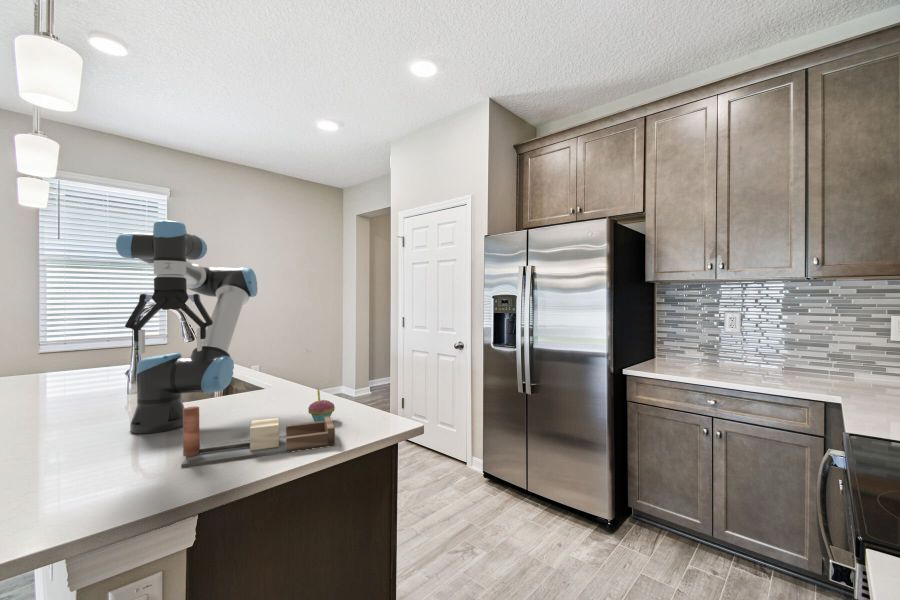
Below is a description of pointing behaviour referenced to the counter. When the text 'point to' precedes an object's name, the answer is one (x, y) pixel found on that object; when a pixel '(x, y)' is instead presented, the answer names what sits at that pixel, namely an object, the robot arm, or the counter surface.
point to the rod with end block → (260, 438)
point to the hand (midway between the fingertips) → (171, 352)
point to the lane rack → (294, 440)
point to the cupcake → (321, 409)
